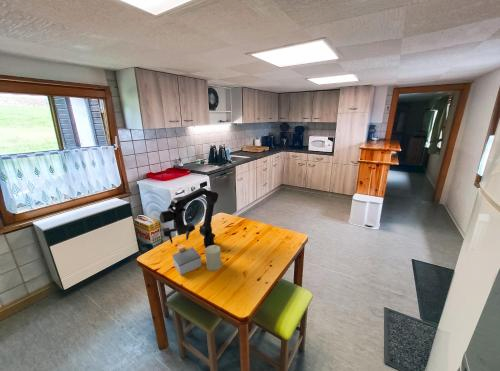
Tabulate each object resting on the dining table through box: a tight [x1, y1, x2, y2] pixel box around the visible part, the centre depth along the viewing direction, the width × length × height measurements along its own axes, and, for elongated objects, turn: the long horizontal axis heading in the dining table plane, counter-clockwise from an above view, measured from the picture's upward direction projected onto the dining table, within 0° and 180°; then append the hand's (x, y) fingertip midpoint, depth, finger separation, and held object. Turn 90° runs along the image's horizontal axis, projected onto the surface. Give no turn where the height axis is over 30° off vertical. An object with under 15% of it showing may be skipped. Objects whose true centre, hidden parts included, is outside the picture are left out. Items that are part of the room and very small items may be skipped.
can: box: [204, 244, 223, 272], centre depth 131 cm, size 9×9×12 cm
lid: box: [171, 243, 202, 267], centre depth 133 cm, size 13×17×3 cm
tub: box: [172, 257, 202, 276], centre depth 133 cm, size 13×12×6 cm
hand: (179, 241), depth 136 cm, fingers open, 9 cm apart
